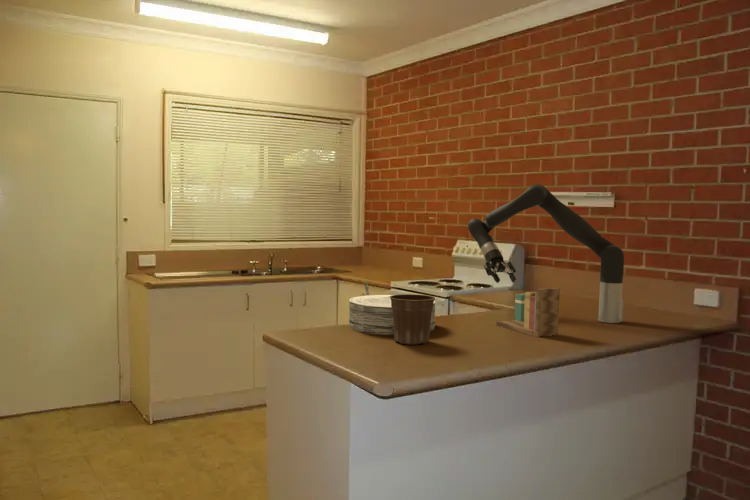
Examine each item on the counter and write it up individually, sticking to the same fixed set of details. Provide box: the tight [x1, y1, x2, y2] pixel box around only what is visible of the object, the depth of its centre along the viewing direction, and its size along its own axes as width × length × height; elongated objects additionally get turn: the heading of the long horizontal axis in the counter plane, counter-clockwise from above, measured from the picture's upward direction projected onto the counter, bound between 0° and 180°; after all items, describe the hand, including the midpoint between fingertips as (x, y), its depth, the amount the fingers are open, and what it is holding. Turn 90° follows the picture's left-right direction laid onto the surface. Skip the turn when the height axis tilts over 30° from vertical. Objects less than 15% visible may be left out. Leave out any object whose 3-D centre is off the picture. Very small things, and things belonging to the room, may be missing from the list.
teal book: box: [514, 293, 525, 322], centre depth 265 cm, size 5×4×12 cm
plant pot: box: [390, 293, 436, 346], centre depth 221 cm, size 16×16×16 cm
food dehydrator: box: [348, 280, 436, 336], centre depth 250 cm, size 38×34×18 cm
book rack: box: [496, 287, 561, 338], centre depth 247 cm, size 10×26×18 cm, turn 26°
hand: (506, 281), depth 275 cm, fingers open, 8 cm apart
